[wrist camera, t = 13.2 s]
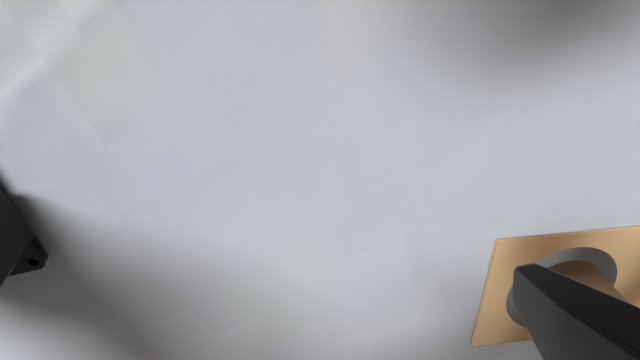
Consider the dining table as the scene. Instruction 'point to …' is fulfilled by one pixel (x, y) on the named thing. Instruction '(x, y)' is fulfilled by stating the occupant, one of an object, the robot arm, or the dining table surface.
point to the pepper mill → (587, 276)
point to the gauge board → (547, 250)
